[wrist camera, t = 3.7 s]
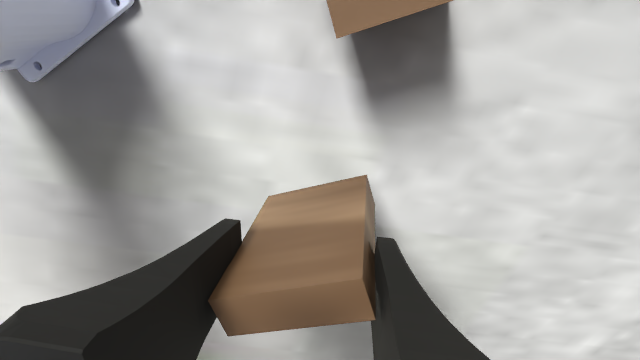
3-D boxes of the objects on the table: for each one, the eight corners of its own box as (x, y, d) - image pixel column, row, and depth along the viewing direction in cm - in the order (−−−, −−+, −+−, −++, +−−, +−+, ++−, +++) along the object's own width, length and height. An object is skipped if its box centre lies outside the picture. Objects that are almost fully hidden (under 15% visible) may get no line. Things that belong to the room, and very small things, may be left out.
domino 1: (374, 204, 16) (375, 319, 10) (279, 222, 18) (227, 336, 11) (366, 174, 16) (362, 278, 10) (268, 196, 17) (207, 300, 11)
